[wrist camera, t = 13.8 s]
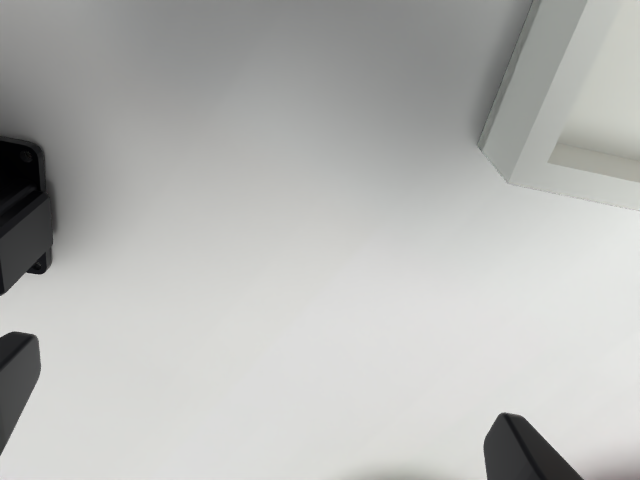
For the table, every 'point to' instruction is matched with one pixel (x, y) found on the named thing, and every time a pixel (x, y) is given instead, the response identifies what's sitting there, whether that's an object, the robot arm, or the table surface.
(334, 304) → the table surface
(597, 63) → the tray
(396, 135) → the table surface
